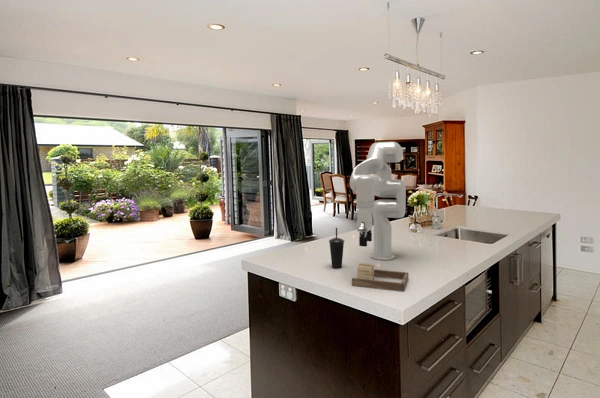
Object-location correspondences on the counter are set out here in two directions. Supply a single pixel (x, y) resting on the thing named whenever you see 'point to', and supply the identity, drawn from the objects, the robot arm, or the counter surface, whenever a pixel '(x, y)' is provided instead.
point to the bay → (383, 284)
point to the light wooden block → (365, 271)
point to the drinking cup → (336, 251)
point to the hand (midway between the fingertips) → (365, 243)
